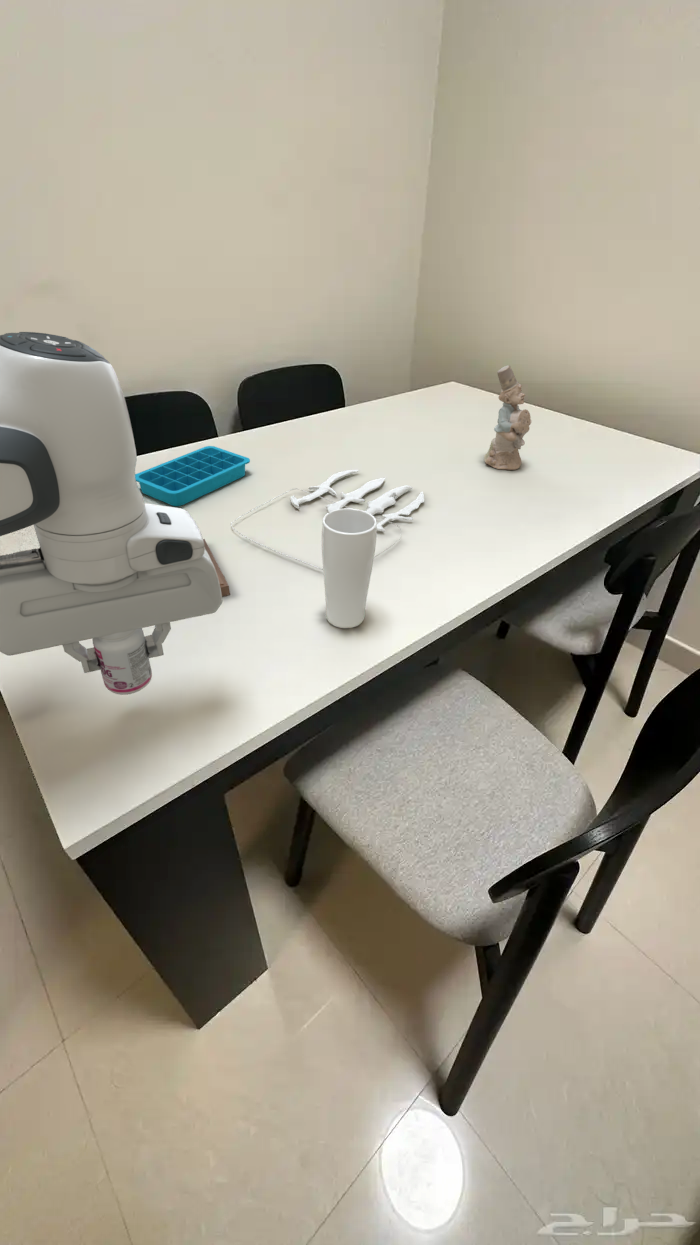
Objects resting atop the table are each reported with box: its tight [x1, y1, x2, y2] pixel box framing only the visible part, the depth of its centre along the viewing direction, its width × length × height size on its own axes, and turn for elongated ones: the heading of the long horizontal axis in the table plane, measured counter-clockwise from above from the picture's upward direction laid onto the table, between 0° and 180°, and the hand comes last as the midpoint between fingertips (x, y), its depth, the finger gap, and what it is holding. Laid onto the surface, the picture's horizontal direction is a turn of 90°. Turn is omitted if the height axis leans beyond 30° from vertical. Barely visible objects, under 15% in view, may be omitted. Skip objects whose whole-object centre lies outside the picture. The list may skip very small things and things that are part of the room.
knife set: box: [230, 469, 425, 571], centre depth 102 cm, size 26×35×1 cm
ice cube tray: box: [135, 445, 251, 507], centre depth 110 cm, size 12×20×3 cm, turn 146°
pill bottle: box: [92, 628, 153, 696], centre depth 58 cm, size 5×5×8 cm
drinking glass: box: [321, 507, 378, 629], centre depth 75 cm, size 7×7×15 cm
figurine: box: [483, 364, 533, 471], centre depth 119 cm, size 9×8×20 cm
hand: (124, 660), depth 59 cm, fingers closed on pill bottle, 5 cm apart
